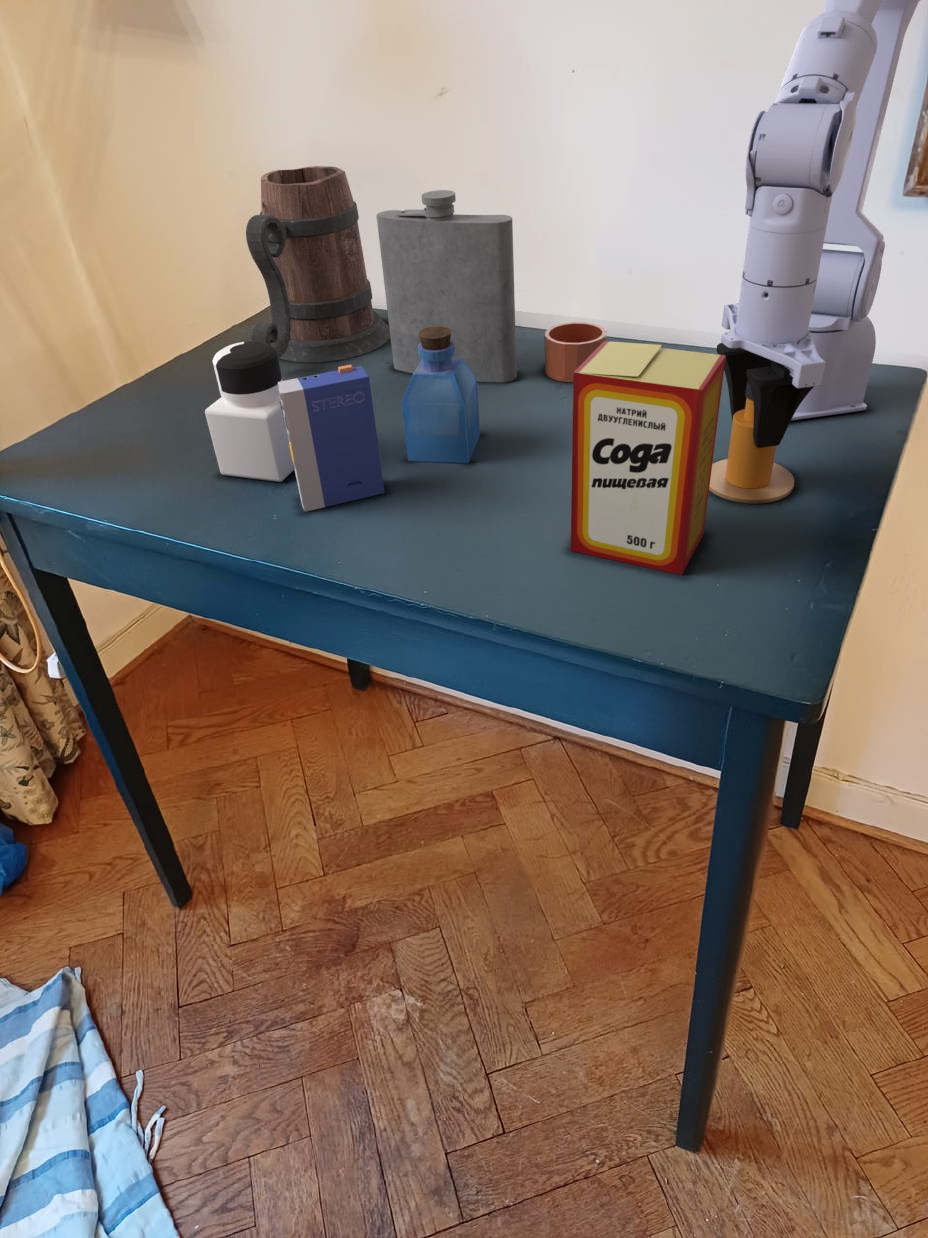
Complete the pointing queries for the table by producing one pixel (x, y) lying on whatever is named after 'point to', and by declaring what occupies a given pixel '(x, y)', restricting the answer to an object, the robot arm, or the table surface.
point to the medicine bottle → (249, 414)
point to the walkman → (332, 436)
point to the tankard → (313, 268)
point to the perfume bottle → (440, 403)
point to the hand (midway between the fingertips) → (755, 433)
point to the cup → (570, 347)
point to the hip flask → (450, 284)
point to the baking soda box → (643, 452)
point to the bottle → (748, 451)
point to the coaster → (771, 492)
